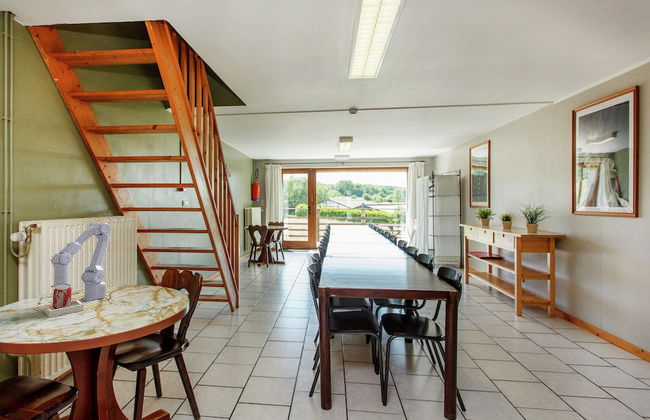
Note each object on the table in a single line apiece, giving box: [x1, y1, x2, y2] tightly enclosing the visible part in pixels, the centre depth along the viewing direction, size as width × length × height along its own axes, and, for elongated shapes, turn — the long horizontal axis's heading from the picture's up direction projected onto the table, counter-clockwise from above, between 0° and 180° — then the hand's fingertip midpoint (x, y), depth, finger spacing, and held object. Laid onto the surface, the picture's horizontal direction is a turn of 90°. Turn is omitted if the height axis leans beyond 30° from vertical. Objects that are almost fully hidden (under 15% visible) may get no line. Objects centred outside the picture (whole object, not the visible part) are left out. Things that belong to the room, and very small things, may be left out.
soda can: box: [52, 283, 73, 310], centre depth 151 cm, size 7×7×12 cm
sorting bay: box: [44, 299, 85, 318], centre depth 149 cm, size 13×12×3 cm
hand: (60, 302), depth 154 cm, fingers closed, pressing on soda can
